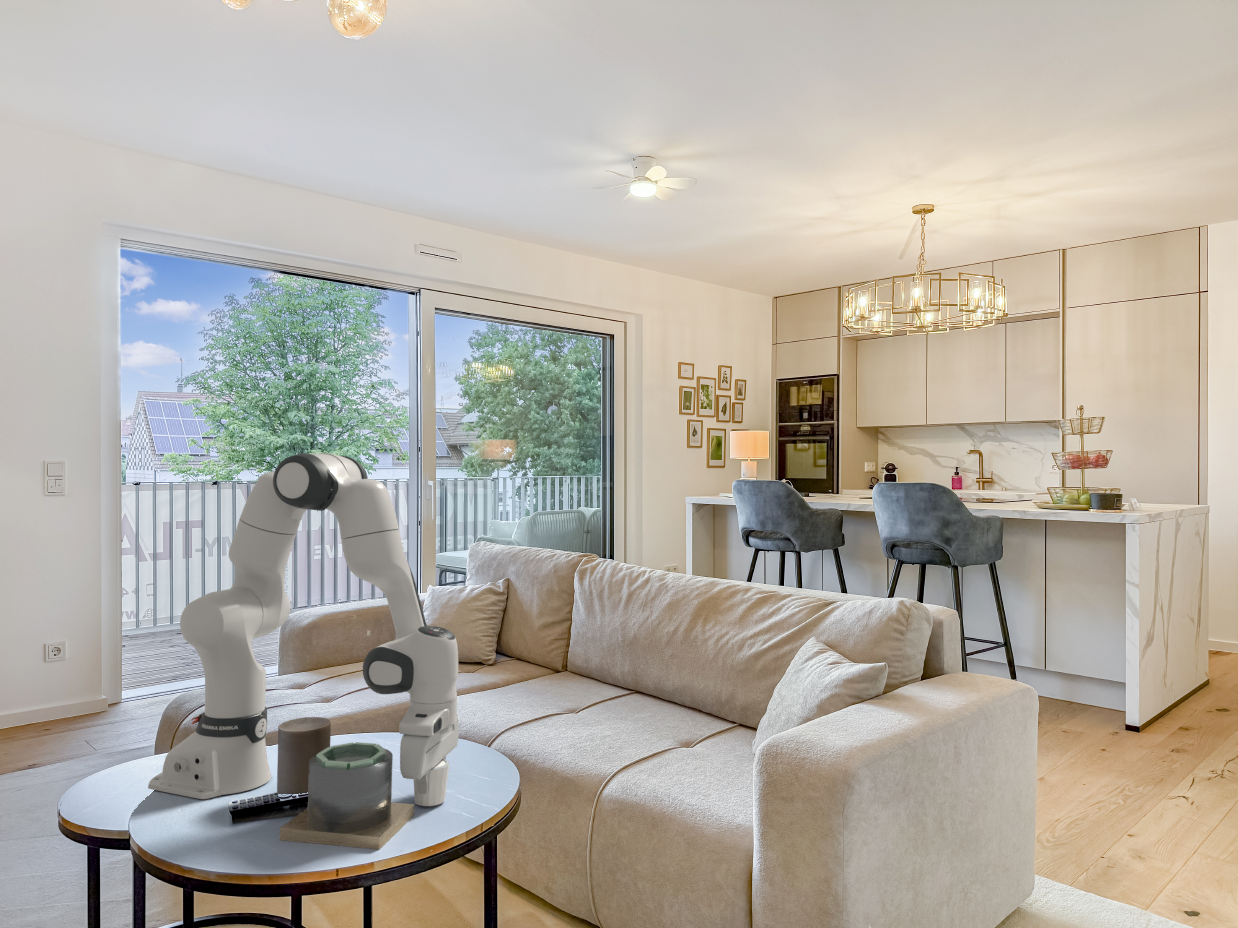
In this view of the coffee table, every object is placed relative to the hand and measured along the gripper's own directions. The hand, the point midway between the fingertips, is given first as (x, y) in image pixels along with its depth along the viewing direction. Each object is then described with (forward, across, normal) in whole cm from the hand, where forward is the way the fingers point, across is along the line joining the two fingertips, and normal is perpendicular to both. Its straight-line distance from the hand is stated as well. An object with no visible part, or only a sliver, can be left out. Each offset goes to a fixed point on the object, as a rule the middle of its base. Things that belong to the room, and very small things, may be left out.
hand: (430, 786), depth 151 cm
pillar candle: (+4, +1, -26) cm, 26 cm away
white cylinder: (+3, 0, 0) cm, 3 cm away
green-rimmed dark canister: (+3, +13, -10) cm, 16 cm away
